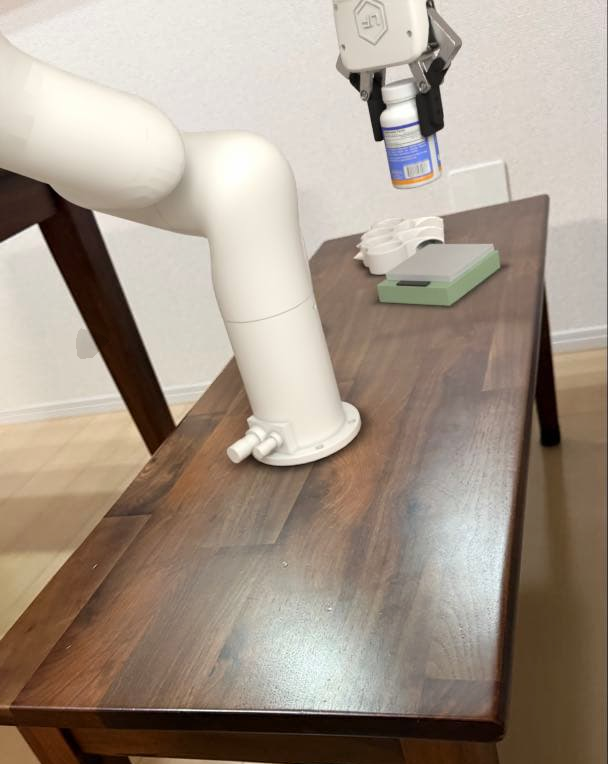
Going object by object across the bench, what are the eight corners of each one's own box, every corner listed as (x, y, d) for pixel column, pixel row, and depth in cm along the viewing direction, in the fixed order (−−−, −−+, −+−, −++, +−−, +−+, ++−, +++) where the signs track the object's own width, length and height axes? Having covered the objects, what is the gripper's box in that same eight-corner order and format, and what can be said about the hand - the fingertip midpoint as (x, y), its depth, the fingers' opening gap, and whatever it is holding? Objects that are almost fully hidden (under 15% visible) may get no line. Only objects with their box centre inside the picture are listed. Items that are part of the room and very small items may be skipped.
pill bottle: (411, 174, 93) (393, 78, 88) (452, 171, 90) (437, 71, 84) (382, 192, 90) (363, 93, 85) (424, 189, 87) (406, 86, 82)
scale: (449, 305, 113) (445, 280, 111) (379, 302, 121) (374, 278, 119) (500, 267, 120) (497, 243, 118) (431, 266, 127) (427, 243, 125)
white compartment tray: (446, 261, 127) (352, 281, 131) (444, 226, 142) (359, 245, 145) (443, 239, 125) (347, 260, 129) (441, 206, 140) (355, 225, 143)
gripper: (281, -44, 81) (326, 153, 91) (424, -90, 70) (457, 140, 80) (330, -60, 85) (368, 130, 95) (474, -106, 74) (500, 116, 84)
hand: (409, 133), depth 87 cm, fingers closed on pill bottle, 5 cm apart
